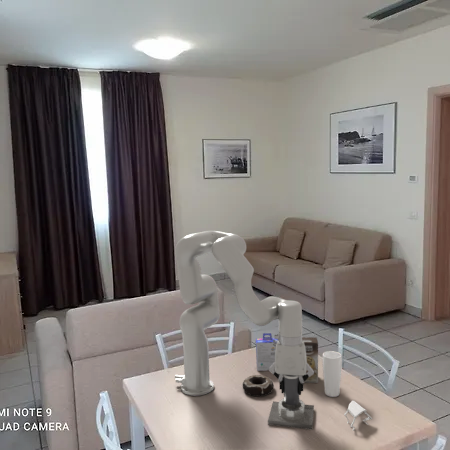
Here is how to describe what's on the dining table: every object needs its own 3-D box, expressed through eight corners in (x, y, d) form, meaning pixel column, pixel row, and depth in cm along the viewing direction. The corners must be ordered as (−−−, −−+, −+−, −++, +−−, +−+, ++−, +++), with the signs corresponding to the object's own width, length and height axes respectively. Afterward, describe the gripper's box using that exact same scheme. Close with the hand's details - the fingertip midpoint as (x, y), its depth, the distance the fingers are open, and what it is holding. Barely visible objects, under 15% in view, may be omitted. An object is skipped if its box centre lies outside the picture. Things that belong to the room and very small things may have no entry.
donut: (239, 396, 158) (239, 386, 158) (246, 381, 169) (246, 371, 169) (270, 400, 155) (270, 389, 155) (276, 384, 166) (275, 374, 166)
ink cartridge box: (279, 364, 183) (278, 332, 181) (280, 370, 177) (280, 336, 176) (256, 365, 183) (255, 332, 181) (256, 371, 178) (256, 337, 176)
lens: (283, 404, 141) (282, 375, 140) (284, 396, 146) (284, 368, 145) (298, 406, 140) (298, 376, 138) (300, 398, 144) (299, 369, 143)
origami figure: (376, 431, 134) (376, 416, 134) (349, 432, 134) (349, 417, 133) (362, 410, 146) (362, 396, 146) (337, 411, 146) (337, 397, 145)
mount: (268, 424, 139) (267, 411, 139) (273, 405, 151) (272, 393, 150) (312, 429, 136) (312, 416, 135) (313, 409, 147) (313, 397, 147)
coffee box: (294, 382, 167) (294, 342, 165) (294, 375, 173) (293, 336, 172) (318, 383, 166) (318, 342, 164) (317, 375, 172) (316, 336, 170)
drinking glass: (342, 399, 154) (342, 358, 152) (322, 397, 155) (322, 357, 153) (341, 390, 160) (341, 351, 158) (322, 388, 161) (322, 350, 160)
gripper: (262, 341, 139) (264, 395, 141) (316, 345, 135) (317, 400, 137) (266, 333, 146) (267, 384, 148) (317, 336, 142) (318, 389, 144)
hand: (291, 391), depth 142 cm, fingers closed on lens, 5 cm apart
